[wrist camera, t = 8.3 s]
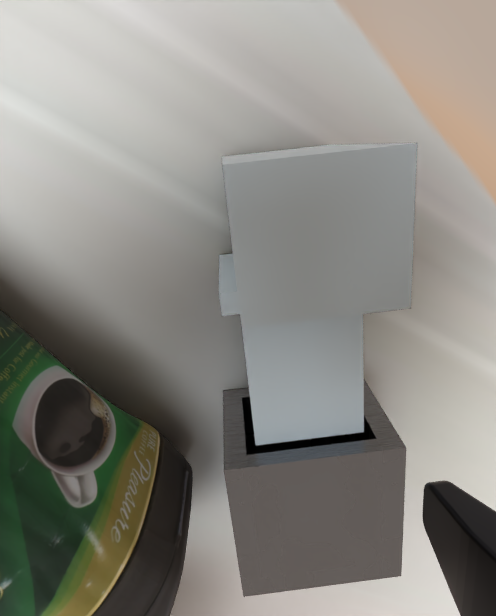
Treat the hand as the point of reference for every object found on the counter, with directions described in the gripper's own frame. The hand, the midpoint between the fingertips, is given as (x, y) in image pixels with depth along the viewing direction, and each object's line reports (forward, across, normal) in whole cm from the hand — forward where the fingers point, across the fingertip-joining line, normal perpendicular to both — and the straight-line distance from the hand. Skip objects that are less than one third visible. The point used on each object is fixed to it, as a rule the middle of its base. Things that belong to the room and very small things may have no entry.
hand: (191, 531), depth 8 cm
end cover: (+12, -4, -1) cm, 13 cm away
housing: (+13, -4, +8) cm, 15 cm away
